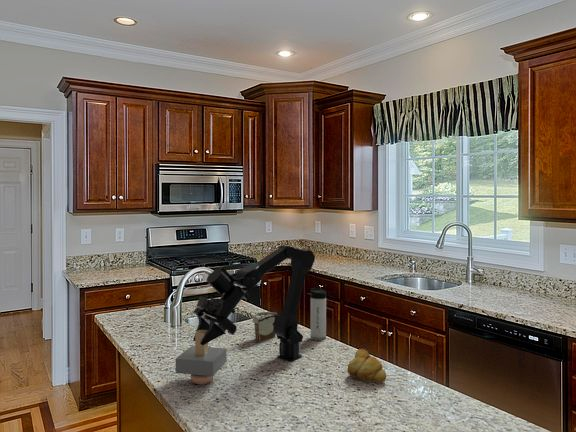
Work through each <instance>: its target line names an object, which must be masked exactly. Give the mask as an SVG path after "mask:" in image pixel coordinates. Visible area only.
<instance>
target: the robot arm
mask: <svg viewBox="0 0 576 432" xmlns="http://www.w3.org/2000/svg"><path fill="white" fill-rule="evenodd" d="M287 259H289V260H290V266H291V272H292V273H291V276H290V280H289V284H288V288H287V292H286V296H285V301H284V304H283V309H282V311H281V312H280V313H279V314H278V313H277V314H276V315H275V320H274V323H273V326H274V327H273V331H274V332H275V334H276V338H277V339H279V344H278V346H279V350H278V351H279V352H278V353H279V355H277V356H276V357H277V358H278V359H281V360H285V361H288V362H293V361H296V360H297V359H299V358H302V354H300V343H302V342H303V338H304V335H303V334H302V333H301V332H300V331H299V330H298V326H299V322H298V318H297V313H298V312H297V311H298V309H299V305H300V300H301V296H302V291H303V288H304V284H305V278H306V276H307V274H308V273H309V272H310V271H311V270H312V268H313V265H314V263H315V260H316V256H315V253H314V252H313V251H312V250H311V249H310V250H309V249H303V248H295V247H292V246H291V245H286V244H282V245H280V246H278V247H277V248H276V249H275V250H274V251H272V252H271V253H269V254H268V255H266V256H264V257H263V258H262V259H260V260H258V261H257V262H256V263H254V264H251V265H248V266H247V265H246V266H245V267H242V268H239V269H238V270H237V271H236V272H234V273H231V274H230V273H229V272H228V270H227V269H226V268H225V267H224V266H219V267H218V268H217V269H214V270H213V271H211V272H210V273H209V274H208V276H207V278H206V282H207V284H209V285H210V287H212V288H213V289H214V291H216V292H217V293H218V294H222V295H221V297H219V298H218V297H217V298H215V297H211V298H210V299H208V298H206V297H203V296H199V298H198V301H197V303H196V308H195V309H193V313H194V315H196V316H197V317H196V318H197V319H198V325H197V328H196V331H198V330H208V331H207V332H206V334H205V336H204V337H203V339H202V341H201V342H200V344H201V345H205V344H206V343H208V344H209V342H212V341H213V340H215V339H218V338H219V337H221V336H224V335H226V334H227V333H228V334H229V335H231V336H234V335H235V333H236V332H237V327H238V326H237V325H236V324H235V323H234V322H233V321H232V320H231V319H230V318H229V317H230V315H231V314H233V315H234V314H235V313H236V310H235V309H236V307H237V305H238V304H239V303H240V302H241V301H242V299H244V300H248V301H249V299H250V297H249V290H243V288H244V289H245V288H246V289H250V290H251V289H254V288H255V287H256V286H257V285H258V284H259V283H260V282H261V280H262V279H263V277H264V275H265V274H267V273H268V272H270V271H271V270H273V269H274V268H275V267H277V266H278V265H280V264H281V263H282V262H284V261H286V260H287ZM235 284H236V285H235ZM242 287H243V288H242ZM193 341H194V342H195V335H194V336H193Z"/></svg>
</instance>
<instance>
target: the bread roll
mask: <svg viewBox="0 0 576 432" xmlns="http://www.w3.org/2000/svg"><path fill="white" fill-rule="evenodd" d="M346 370H347V373H348V375H350V377H352V378H355V379H357V380H359V381H362V382H365V383H366V382H367V383H369V382H371V383H375V384H376V383H383V382H384V381H386V379H387V373H386V371H385V370H384V369H383V365H382V363H381V361H380V360H379V359H378V358H376V357H373V356H371V355H370V353H369V351H367V349H364V348H360V349H357V350H356V352H355V354H354V358H352V360H350V361H349V362H348V364H347V369H346Z"/></svg>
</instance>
